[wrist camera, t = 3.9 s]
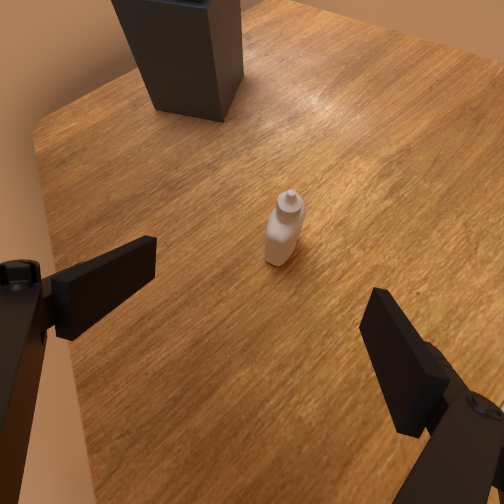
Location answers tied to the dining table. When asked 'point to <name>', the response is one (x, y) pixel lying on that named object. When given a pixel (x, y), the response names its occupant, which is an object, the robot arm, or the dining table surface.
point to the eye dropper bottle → (284, 227)
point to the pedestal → (186, 52)
